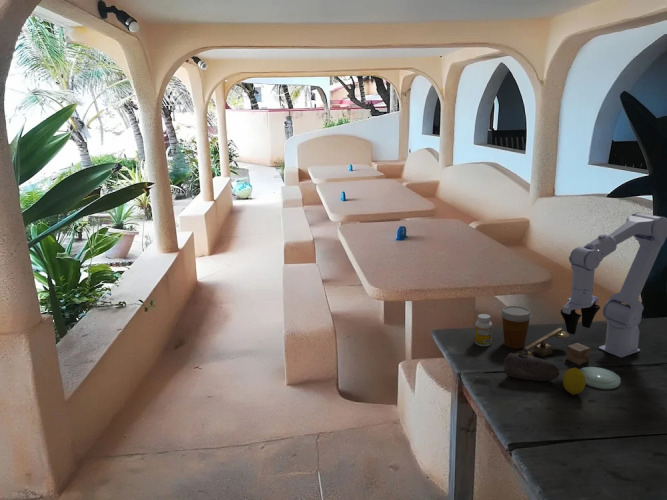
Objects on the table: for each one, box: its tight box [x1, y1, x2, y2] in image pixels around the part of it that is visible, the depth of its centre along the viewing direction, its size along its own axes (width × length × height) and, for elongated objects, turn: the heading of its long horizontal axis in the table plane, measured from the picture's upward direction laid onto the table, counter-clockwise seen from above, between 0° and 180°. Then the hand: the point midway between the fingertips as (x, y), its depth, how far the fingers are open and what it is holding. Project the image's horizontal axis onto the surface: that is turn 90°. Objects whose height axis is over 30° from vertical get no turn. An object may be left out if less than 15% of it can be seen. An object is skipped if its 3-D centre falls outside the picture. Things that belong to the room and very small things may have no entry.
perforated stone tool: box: [503, 352, 560, 382], centre depth 150 cm, size 15×5×7 cm, turn 68°
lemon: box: [562, 367, 586, 396], centre depth 141 cm, size 6×6×8 cm
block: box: [565, 342, 591, 366], centre depth 161 cm, size 4×4×4 cm
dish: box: [579, 366, 622, 390], centre depth 149 cm, size 11×11×1 cm
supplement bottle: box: [474, 313, 493, 347], centre depth 174 cm, size 5×5×10 cm
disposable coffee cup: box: [500, 305, 532, 349], centre depth 172 cm, size 10×10×12 cm
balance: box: [515, 327, 570, 357], centre depth 166 cm, size 21×5×7 cm, turn 117°
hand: (578, 330), depth 158 cm, fingers open, 7 cm apart
